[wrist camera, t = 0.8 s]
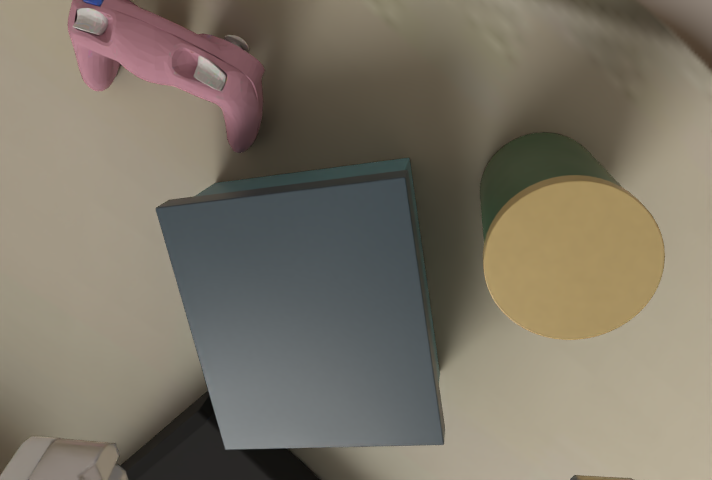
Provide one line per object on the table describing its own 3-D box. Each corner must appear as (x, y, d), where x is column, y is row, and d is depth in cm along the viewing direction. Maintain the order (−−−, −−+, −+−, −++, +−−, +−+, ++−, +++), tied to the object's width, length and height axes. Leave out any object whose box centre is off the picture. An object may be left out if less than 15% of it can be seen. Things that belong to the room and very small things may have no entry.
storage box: (206, 176, 33) (154, 207, 28) (416, 148, 31) (405, 177, 25) (260, 387, 38) (224, 450, 32) (447, 378, 35) (444, 445, 30)
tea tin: (472, 139, 30) (475, 191, 21) (600, 122, 29) (665, 169, 19) (483, 251, 32) (491, 344, 23) (604, 240, 31) (665, 334, 21)
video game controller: (286, 87, 32) (269, 32, 25) (252, 162, 32) (224, 128, 25) (124, 16, 32) (61, -57, 25) (88, 90, 32) (15, 36, 25)
